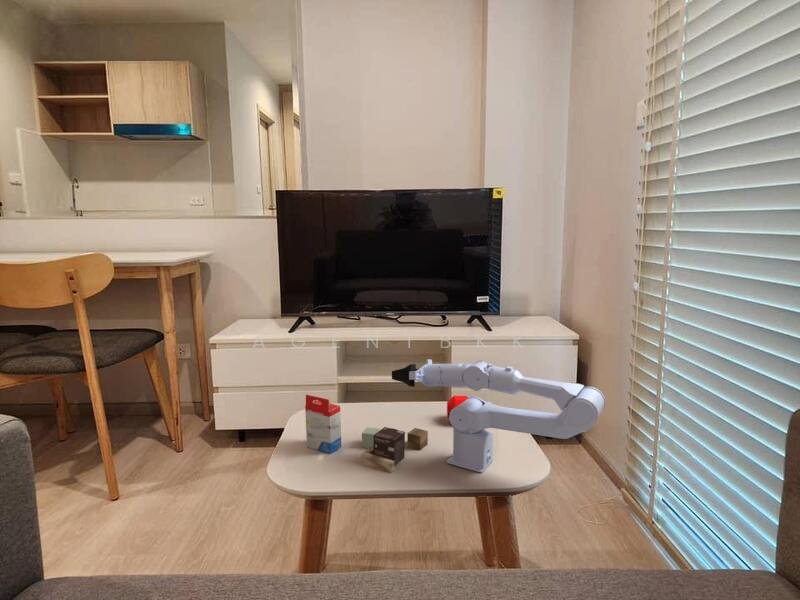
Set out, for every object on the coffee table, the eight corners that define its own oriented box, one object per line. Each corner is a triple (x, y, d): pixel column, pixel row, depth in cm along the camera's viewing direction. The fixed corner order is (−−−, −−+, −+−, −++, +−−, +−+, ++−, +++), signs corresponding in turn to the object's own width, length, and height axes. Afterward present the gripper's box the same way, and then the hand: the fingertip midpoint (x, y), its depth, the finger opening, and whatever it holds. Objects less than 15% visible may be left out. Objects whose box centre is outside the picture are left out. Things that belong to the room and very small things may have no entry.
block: (380, 442, 130) (380, 428, 130) (375, 449, 127) (375, 434, 126) (367, 440, 132) (367, 427, 131) (361, 447, 128) (361, 432, 127)
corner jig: (410, 457, 122) (410, 448, 121) (391, 472, 114) (391, 463, 114) (381, 449, 126) (381, 440, 126) (361, 463, 119) (361, 453, 118)
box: (372, 462, 119) (372, 435, 118) (384, 453, 124) (384, 426, 123) (394, 468, 116) (394, 440, 115) (405, 458, 121) (405, 430, 120)
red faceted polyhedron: (446, 416, 149) (446, 393, 148) (472, 417, 148) (472, 393, 147) (447, 427, 141) (448, 402, 140) (475, 427, 140) (475, 402, 139)
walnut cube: (427, 444, 129) (427, 431, 129) (420, 450, 126) (420, 436, 125) (414, 441, 131) (414, 427, 131) (407, 447, 128) (407, 433, 127)
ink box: (342, 447, 128) (341, 394, 125) (330, 454, 123) (329, 400, 121) (317, 440, 132) (316, 389, 130) (305, 446, 128) (304, 394, 126)
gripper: (457, 359, 127) (414, 360, 134) (430, 358, 115) (384, 359, 122) (458, 386, 126) (414, 385, 133) (431, 388, 114) (385, 387, 121)
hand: (400, 374), depth 128 cm, fingers open, 7 cm apart
